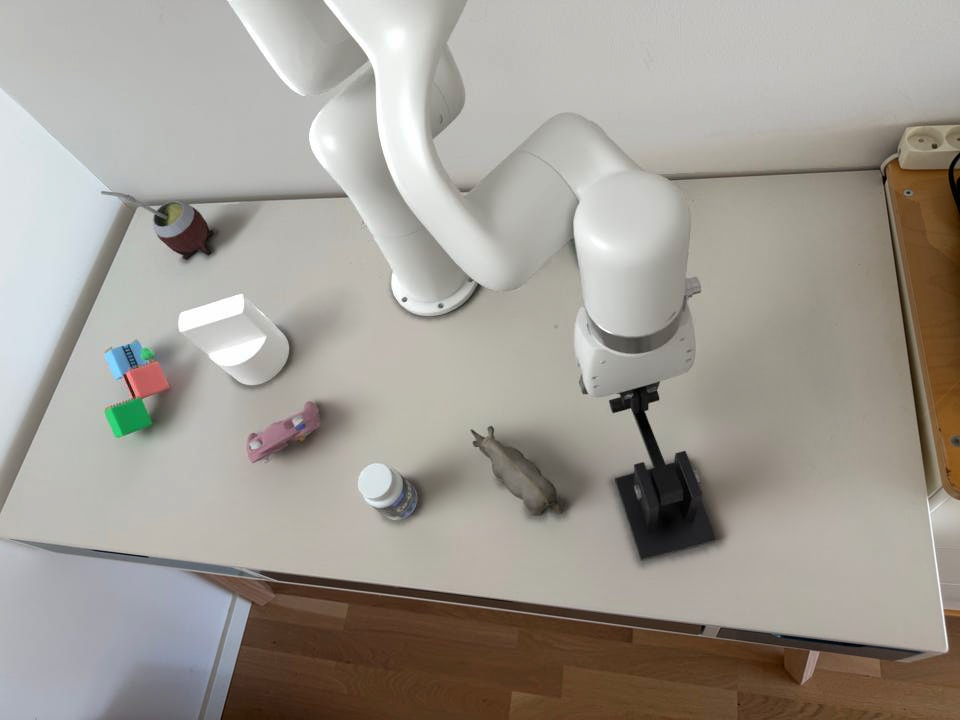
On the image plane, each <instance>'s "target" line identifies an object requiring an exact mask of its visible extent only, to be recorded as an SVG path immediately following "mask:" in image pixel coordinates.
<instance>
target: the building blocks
mask: <svg viewBox="0 0 960 720" xmlns="http://www.w3.org/2000/svg"><path fill="white" fill-rule="evenodd" d="M154 357H155V353H154V351H153V350H151V349H150V348H149V347H143V346H142V344H141V342H140V340H138V338H137V339H135V340H134V341H132V342H130V343H128V344H123V345H121V346H117V347H114V348H113V347H112V346H110V347H109V348H107V349H106V350H105V351H104V358H105V360H106V363H107V364H108V367H109V370H110V371H111V374H112V376H113V378H114V380H116V381H118V380H121V379H123V382H124V384H125V387H126V388H127V391H128V393H129V395H130V397H131V398H128V399H125V401H124V400H122V402H121V401H119V402H118V403H116V404H115V403H113V405H109V406H107V407H105V408H104V409H103V410H104V412H103V413H104V416H105V418H106V420H107V422H108V424H109V426H110V428H111V431H112V433H113V435H114V438H116V439H120V438H123V437H125V436H128V435H130V434H132V433H135V432H138V431H141V430H143V429H146V428H148V427H150V426H152V425H153V421H152V419H151V417H150V415H149V412H148V410H147V407H146V406H145V403H144V401H143V399H145V398H148V397H149V398H150V397H152V396H154V395H157V394H160V393H162V392H164V391H167V390H169V388H170V386H169V383H168V381H167V379H166V377H165V374H164V372H163V370H162V367H161V364H160V363H159V361H157V360H156V359H154V360H152V359H153V358H154Z"/></svg>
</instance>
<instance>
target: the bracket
mask: <svg viewBox="0 0 960 720" xmlns="http://www.w3.org/2000/svg"><path fill="white" fill-rule="evenodd" d="M672 463H673V465H674V468H675V470H676V473H677V475H678V477H679V480H680V482H681V485H682V487H683V500H681V501H677V502H673V503H669V504H665V505H662V506H661V505H660V503H659V500H658V497H657V495H656V492H655V489H654V487H653V484H652V481H651V472H650V469H653V467H652V468H648V469H647V466H646V464H645V462H644V461H642V462H637V463H635V464H633V472H632V473H630V474H626V475H622V476H618V477H615V478H614V482H615V485H616V489H617V492H618V495H619V499H620V501H621V504H622V508H623V511H624V513H625V517H626V520H627V524H628V526H629V529H630V532H631V535H632V538H633V541H634V545H635V548H636V551H637V555H638V558H639V560H640V562H642V561H647V560H650V559H654V558H658V557H662V556H666V555H670V554H674V553H678V552H681V551H686V550H689V549H693V548H698V547H702V546H706V545H709V544H712V543H715V542H716V541H717V537H716V535H715V532H714V529H713V527H712V524H711V522H710V520H709V517H708V514H707V511H706V508H705V506H704V504H703V502H702V497H703V492H702V490H701V487H700V484H701V478H700V475H699V473H698V471H697V469H695V468H694V469H693V466H692V464H691V461H690V459H689V456H688V454H687V451H686V450H682V451H679V452H675V453H674V460H673V462H670V463H667V464H666V463H665V464H666V465H668V464H672Z"/></svg>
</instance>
